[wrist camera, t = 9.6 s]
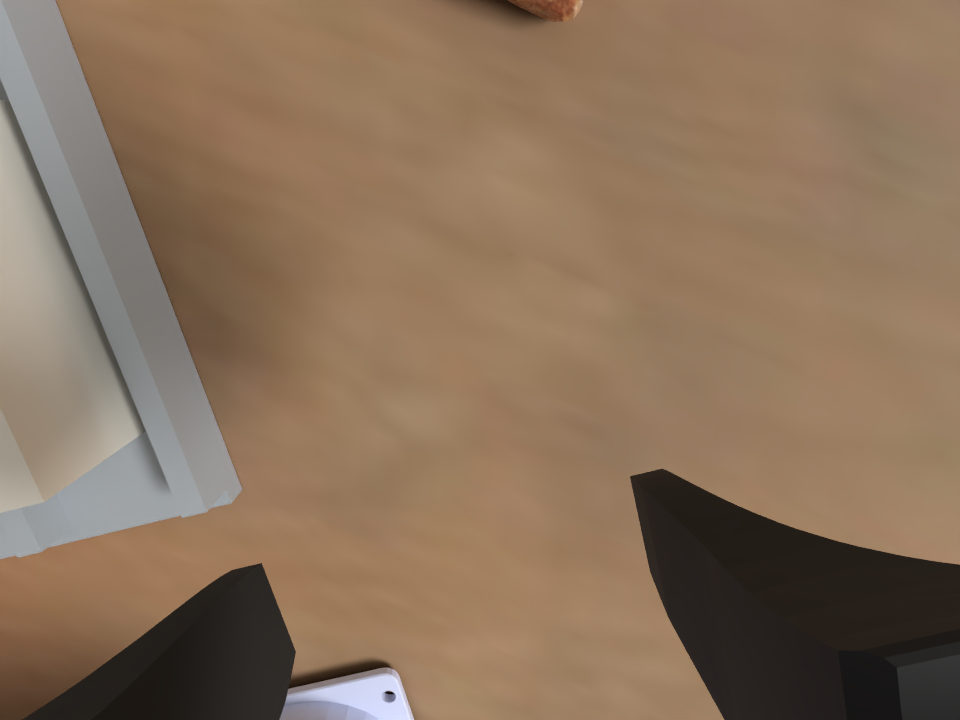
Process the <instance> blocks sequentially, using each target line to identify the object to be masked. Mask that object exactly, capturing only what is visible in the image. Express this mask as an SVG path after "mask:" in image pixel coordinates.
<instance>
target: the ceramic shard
mask: <svg viewBox="0 0 960 720" xmlns="http://www.w3.org/2000/svg"><path fill="white" fill-rule="evenodd" d="M507 1H509V2H511V3H513V4H515V5H516V6H518V7H520V8H523V9H525V10H527V11H529V12H531V13H533V14H535V15H537V16H539V17H541V18H544V19H547V20H552V21H569V20H573V18H574V17H575V16H576V15H577V13H578V12H579V11H580V9H581V6H582V3H583V0H507Z"/></svg>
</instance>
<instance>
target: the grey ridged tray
mask: <svg viewBox="0 0 960 720" xmlns="http://www.w3.org/2000/svg"><path fill="white" fill-rule="evenodd" d="M0 100H5V101H9V102H10V103H11V106H12V108H13V111H14V113H15V115H16V118H17V120H18V123H19V125H20V127H21V130H22V132H23V135H24V137H25V140H26V142H27V144H28V147H29V149H30V152H31V154H32V156H33V159H34V161H35V164H36V166H37V169H38V171H39V173H40V176H41V178H42V181H43V183H44V185H45V188H46V190H47V193H48V195H49V198H50V200H51V202H52V205H53V207H54V210H55V212H56V214H57V217H58V219H59V222H60V224H61V227H62V229H63V231H64V234H65V236H66V239H67V241H68V243H69V246H70V248H71V251H72V253H73V256H74V258H75V260H76V263H77V265H78V268H79V270H80V272H81V275H82V277H83V280H84V282H85V285H86V287H87V289H88V292H89V294H90V297H91V299H92V301H93V304H94V306H95V309H96V311H97V314H98V316H99V318H100V321H101V323H102V326H103V328H104V330H105V333H106V335H107V338H108V340H109V343H110V345H111V347H112V350H113V352H114V355H115V357H116V359H117V362H118V364H119V367H120V369H121V371H122V374H123V376H124V379H125V381H126V384H127V386H128V388H129V391H130V393H131V396H132V398H133V400H134V403H135V405H136V408H137V410H138V413H139V415H140V417H141V420H142V422H143V425H144V427H145V429H146V431H145V432H144V433H143V434H141V435H140V436H138V437H137V438H135V439H134V440H133V441H131V442H130V443H128V444H127V445H125V446H124V447H122V448H121V449H120V450H118V451H117V452H115V453H114V454H112V455H111V456H110V457H108V458H107V459H105V460H104V461H102V462H101V463H100V464H98V465H97V466H95V467H94V468H92V469H91V470H90V471H88V472H87V473H85V474H84V475H82V476H81V477H80V478H78V479H77V480H75V481H74V482H72V483H71V484H70V485H68V486H67V487H65V488H64V489H62V490H61V491H60V492H58V493H57V494H55V495H54V496H52V497H51V498H50V499H48V500H47V501H45V502H42V503H38V504H34V505H30V506H26V507H22V508H18V509H14V510H10V511H6V512H2V513H0V559H3V558H7V557H11V556H15V555H16V556H17V558H18V557H22V556H27V555H31V554H35V553H39V552H42V551H43V550H45V549H46V548H48V547H52V546H57V545H61V544H65V543H69V542H73V541H77V540H81V539H85V538H90V537H94V536H98V535H102V534H106V533H110V532H114V531H119V530H123V529H127V528H131V527H135V526H139V525H143V524H148V523H152V522H156V521H160V520H164V519H168V518H172V517H176V516H182V518H184V517H188V516H192V515H196V514H200V513H205V512H207V511H208V510H209V509H210V508H214V507H218V506H222V505H226V504H230V503H232V502H233V500H234V499H235V498H236V497H237V496H238V494H239V493H240V492H241V491H242V488H241V485H240V482H239V480H238V477H237V475H236V472H235V469H234V467H233V464H232V461H231V459H230V456H229V454H228V451H227V448H226V446H225V443H224V441H223V438H222V435H221V433H220V430H219V427H218V425H217V422H216V420H215V417H214V414H213V412H212V409H211V407H210V404H209V401H208V399H207V396H206V393H205V391H204V388H203V386H202V383H201V380H200V378H199V375H198V373H197V370H196V367H195V365H194V362H193V359H192V357H191V354H190V352H189V349H188V346H187V344H186V341H185V339H184V336H183V333H182V331H181V328H180V325H179V323H178V320H177V318H176V315H175V312H174V310H173V307H172V305H171V302H170V299H169V297H168V294H167V291H166V289H165V286H164V284H163V281H162V278H161V276H160V273H159V271H158V268H157V265H156V263H155V260H154V257H153V255H152V252H151V250H150V247H149V244H148V242H147V239H146V237H145V234H144V231H143V229H142V226H141V223H140V221H139V218H138V216H137V213H136V210H135V208H134V205H133V203H132V200H131V197H130V195H129V192H128V189H127V187H126V184H125V182H124V179H123V176H122V174H121V171H120V169H119V166H118V163H117V161H116V158H115V155H114V153H113V150H112V148H111V145H110V142H109V140H108V137H107V135H106V132H105V129H104V127H103V124H102V121H101V119H100V116H99V114H98V111H97V108H96V106H95V103H94V101H93V98H92V95H91V93H90V90H89V88H88V85H87V82H86V80H85V77H84V74H83V72H82V69H81V67H80V64H79V61H78V59H77V56H76V54H75V51H74V48H73V46H72V43H71V40H70V38H69V35H68V33H67V30H66V27H65V25H64V22H63V20H62V17H61V14H60V12H59V9H58V6H57V4H56V1H55V0H0Z"/></svg>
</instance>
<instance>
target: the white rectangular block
mask: <svg viewBox="0 0 960 720" xmlns="http://www.w3.org/2000/svg"><path fill="white" fill-rule="evenodd" d="M145 431H146V429H145V427H144V425H143V422H142V420H141V417H140V415H139V413H138V410H137V408H136V405H135V403H134V400H133V398H132V396H131V393H130V391H129V388H128V386H127V384H126V381H125V379H124V376H123V374H122V371H121V369H120V367H119V364H118V362H117V359H116V357H115V355H114V352H113V350H112V347H111V345H110V343H109V340H108V338H107V335H106V333H105V330H104V328H103V326H102V323H101V321H100V318H99V316H98V314H97V311H96V309H95V306H94V304H93V301H92V299H91V297H90V294H89V292H88V289H87V287H86V285H85V282H84V280H83V277H82V275H81V272H80V270H79V268H78V265H77V263H76V260H75V258H74V256H73V253H72V251H71V248H70V246H69V243H68V241H67V239H66V236H65V234H64V231H63V229H62V227H61V224H60V222H59V219H58V217H57V214H56V212H55V210H54V207H53V205H52V202H51V200H50V198H49V195H48V193H47V190H46V188H45V185H44V183H43V181H42V178H41V176H40V173H39V171H38V169H37V166H36V164H35V161H34V159H33V156H32V154H31V152H30V149H29V147H28V144H27V142H26V140H25V137H24V135H23V132H22V130H21V127H20V125H19V123H18V120H17V118H16V115H15V113H14V111H13V108H12V106H11V103H10V102H9V101H5V100H0V513H2V512H6V511H10V510H14V509H18V508H22V507H26V506H30V505H34V504H38V503H42V502H45V501H47V500H48V499H50V498H51V497H52V496H54V495H55V494H57V493H58V492H60V491H61V490H62V489H64V488H65V487H67V486H68V485H70V484H71V483H72V482H74V481H75V480H77V479H78V478H80V477H81V476H82V475H84V474H85V473H87V472H88V471H90V470H91V469H92V468H94V467H95V466H97V465H98V464H100V463H101V462H102V461H104V460H105V459H107V458H108V457H110V456H111V455H112V454H114V453H115V452H117V451H118V450H120V449H121V448H122V447H124V446H125V445H127V444H128V443H130V442H131V441H133V440H134V439H135V438H137V437H138V436H140V435H141V434H143V433H144V432H145Z"/></svg>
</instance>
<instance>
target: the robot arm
mask: <svg viewBox="0 0 960 720" xmlns="http://www.w3.org/2000/svg"><path fill="white" fill-rule="evenodd" d="M630 478H631V483H632V488H633V493H634V497H635V502H636V507H637V512H638V516H639V521H640V526H641V531H642V535H643V540H644V545H645V549H646V554H647V559H648V564H649V568H650V572H651V575H652V577H653V580H654V582H655V585H656V588H657V590H658V593H659V595H660V598H661V600H662V603H663V605H664V608H665V610H666V612H667V615H668V617H669V619H670V621H671V623H672V625H673V627H674V629H675V631H676V632H677V634H678V636H679V638H680V640H681V642H682V643H683V645H684V647H685V649H686V651H687V653H688V654H689V656H690V658H691V660H692V662H693V663H694V665H695V667H696V669H697V671H698V672H699V674H700V676H701V678H702V680H703V681H704V683H705V685H706V687H707V689H708V691H709V692H710V694H711V696H712V698H713V700H714V701H715V703H716V705H717V707H718V709H719V710H720V712H721V714H722V716H723V718H724V719H725V720H960V565H957V564H950V563H942V562H935V561H929V560H923V559H917V558H911V557H905V556H900V555H895V554H890V553H886V552H881V551H876V550H872V549H867V548H862V547H858V546H854V545H850V544H846V543H842V542H838V541H834V540H831V539H828V538H824V537H821V536H818V535H814V534H811V533H808V532H805V531H801V530H798V529H795V528H792V527H789V526H787V525H784V524H781V523H778V522H776V521H773V520H771V519H768V518H766V517H763V516H761V515H758V514H756V513H753V512H751V511H748V510H746V509H744V508H742V507H739V506H737V505H735V504H733V503H730V502H728V501H726V500H724V499H722V498H720V497H718V496H716V495H714V494H712V493H710V492H708V491H706V490H704V489H702V488H700V487H698V486H696V485H694V484H692V483H690V482H688V481H686V480H684V479H682V478H680V477H678V476H677V475H675V474H673V473H671V472H669V471H666V470H664V469H659V470H655V471H651V472H647V473H642V474H638V475H634V476H630ZM295 653H296V651H295V649H294V646H293V643H292V641H291V638H290V636H289V633H288V630H287V628H286V625H285V623H284V620H283V618H282V615H281V612H280V610H279V607H278V605H277V602H276V599H275V597H274V594H273V592H272V589H271V586H270V584H269V581H268V579H267V576H266V574H265V571H264V568H263V566H262V563H261V564H256V565H252V566H248V567H244V568H239V569H235V570H231V571H230V572H228V573H226V574H224V575H223V576H221V577H220V578H218V579H216V580H215V581H214V582H212V583H211V584H209V585H208V586H207V587H205V588H204V589H202V590H201V591H200V592H198V593H197V594H196V595H194V596H193V597H192V598H190V599H189V600H188V601H187V602H185V603H184V604H183V605H181V606H180V607H179V608H177V609H176V610H175V611H174V612H172V613H171V614H170V615H168V616H167V617H166V618H165V619H163V620H162V621H161V622H159V623H158V624H157V625H156V626H154V627H153V628H152V629H150V630H149V631H148V632H147V633H145V634H144V635H143V636H141V637H140V638H139V639H137V640H136V641H135V642H133V643H132V644H131V645H129V646H128V647H127V648H125V649H124V650H123V651H121V652H120V653H119V654H117V655H116V656H114V657H113V658H112V659H110V660H109V661H108V662H106V663H105V664H104V665H102V666H101V667H100V668H98V669H97V670H95V671H94V672H93V673H91V674H90V675H89V676H87V677H86V678H85V679H83V680H82V681H80V682H79V683H77V684H76V685H75V686H73V687H72V688H70V689H69V690H67V691H66V692H64V693H63V694H61V695H60V696H58V697H57V698H55V699H54V700H52V701H51V702H49V703H48V704H46V705H45V706H43V707H41V708H40V709H38V710H37V711H35V712H34V713H32V714H30V715H29V716H27V717H26V718H24V719H23V720H414V718H413V715H412V712H411V709H410V706H409V703H408V700H407V697H406V694H405V691H404V689H403V686H402V683H401V680H400V677H399V675H398V673H397V672H396V671H395V670H393V669H391V668H388V667H387V668H379V669H375V670H370V671H366V672H361V673H357V674H352V675H348V676H343V677H339V678H334V679H330V680H325V681H321V682H317V683H312V684H308V685H303V686H299V687H294V688H290V689H288V688H289V684H290V679H291V674H292V669H293V663H294V658H295ZM386 691H392V692H394V694H387V693H385V692H386Z"/></svg>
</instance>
